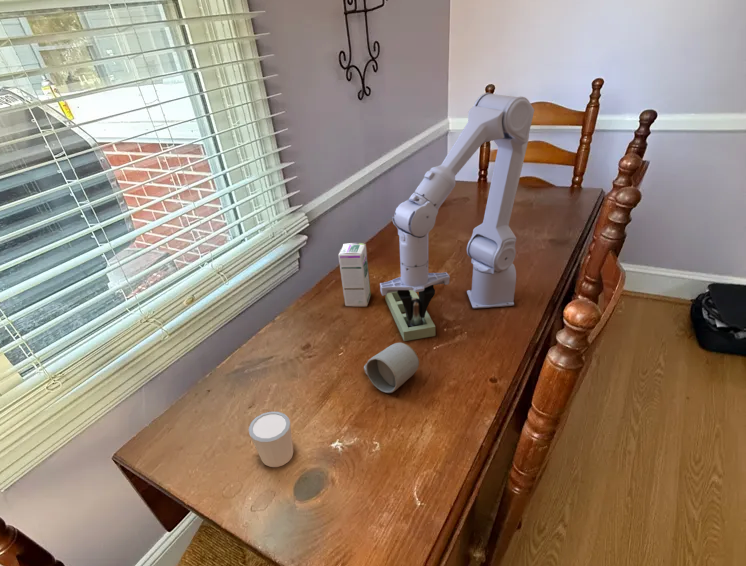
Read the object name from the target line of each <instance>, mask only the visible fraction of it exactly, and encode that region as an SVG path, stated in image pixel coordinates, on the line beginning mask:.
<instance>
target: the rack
mask: <svg viewBox="0 0 746 566" xmlns="http://www.w3.org/2000/svg"><path fill="white" fill-rule="evenodd" d="M409 291H410V295H411V297H412V299H413V298H418V299H419V294H418V292H415V291H414V290H409ZM384 300H385V302H386V304H387V307H388V309H389V311H390V313H391V315H392V318H393V320H394V322H395V325H396V327H397V330H398V331H399V334H400V335H401V338H402V340H403V342H408V341H414V340H420V339H425V338H430V337H436V327H437V326H436V325H435V323H434V322H433V319H432V318H431V316H430V313H429V312H428V310H426V313H425V317H424V318H421V320H422V321H423V325H420V326H414V327H409V328H408V321H409V320H408V319H407V317H406V312H405V308H404V305H403V303H402V301H401V299H400V297H399V295H398V293H397V292H391V293H387V295H384Z"/></svg>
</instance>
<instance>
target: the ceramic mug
mask: <svg viewBox="0 0 746 566" xmlns="http://www.w3.org/2000/svg"><path fill="white" fill-rule="evenodd" d="M419 367H420V359H419V357H418V354H417V351H415V350H414V349H413V347H412V346H410V345H409V344H407V343H405V342H401V341H400V342H395V343H393V344H391V345H389V346H387V347H385V348H384V349H383V350H381V351H380V352H378V353H377V354H375V355H374V356H372V357H371V358H369V359H368V360H367V362H366V363H365V364H364V366H363V370H364V373H365V375H366V376H367V377H368V379H369V381H370V382H371V384H372V385H373V386H374V387H375V388H376V389H378V390H379V391H381V392H383V393H386V394H392V393H394V392H395V391H396V390H398V389H399V388H400V387H402V385H404V384H405V383H406V382H407V381H408V380H409V379H410V378H411V377H413V376H414V375H415V374H416V372H417V371H418V369H419Z"/></svg>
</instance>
